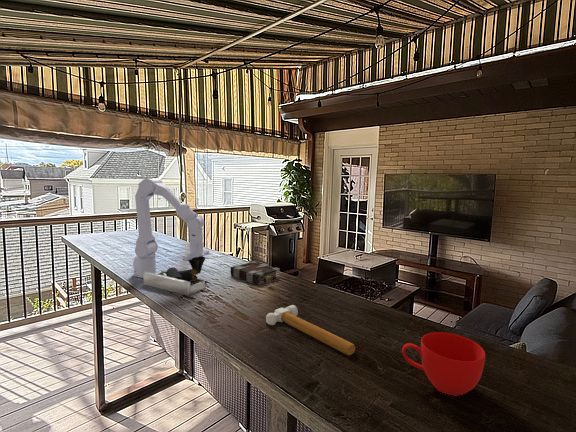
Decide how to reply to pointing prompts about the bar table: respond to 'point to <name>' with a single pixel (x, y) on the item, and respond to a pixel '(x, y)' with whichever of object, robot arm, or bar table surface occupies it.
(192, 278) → the pipe connector
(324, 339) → the hammer
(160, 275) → the white long box
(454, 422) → the bar table surface
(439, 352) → the ceramic cup
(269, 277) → the book
